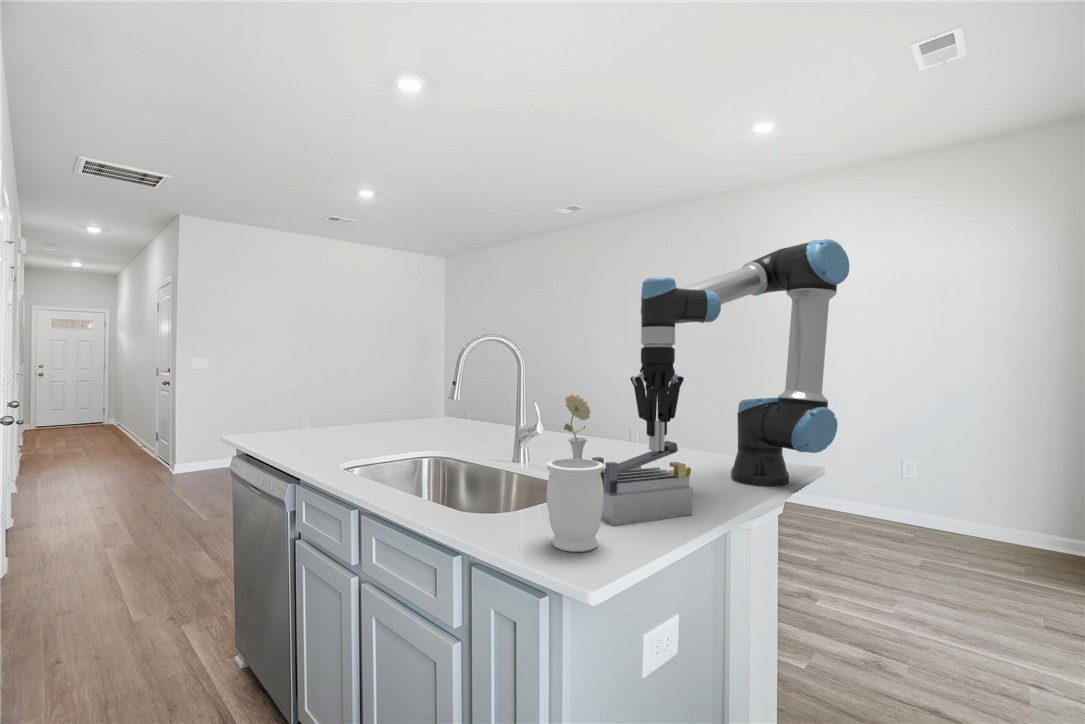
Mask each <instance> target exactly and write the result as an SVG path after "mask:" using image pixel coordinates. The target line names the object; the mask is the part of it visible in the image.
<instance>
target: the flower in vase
mask: <svg viewBox="0 0 1085 724" xmlns="http://www.w3.org/2000/svg"><path fill="white" fill-rule="evenodd" d="M564 399H565V407H566V408H568V411H569V412H570V414H571V415H572V416H571V420H570V424H569V423H567V422H566V423H565V425H564V427H563V429H564V430H565V431H569V432H570V433H572V434H573V436H574V437H569V438H567V441H568V442H569V444H570V446H571V450H572V451H571V452H572V459H583V452H584V451H583V450H584V447H585V444H586V443H587V441H588V438H586V437H577V436H576V434H577V433H578V432H580V431H582V430H583V429H585V428H586V425H584V426H583V427H582V428H580V429H577V431H574V427H573V420H574V417H575V418H578V419H579V420H581V421H585V420H588V419H590V418H591V416H590V415H591V410H590V406H589V405H588V402H587V401H585V400H584V398H582V397H581V398H580V395H579V394H577V395H575V394H574V393H572V394H570V395H568V396H566V397H565V398H564Z"/></svg>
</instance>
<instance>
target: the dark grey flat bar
mask: <svg viewBox="0 0 1085 724" xmlns="http://www.w3.org/2000/svg"><path fill="white" fill-rule="evenodd" d="M678 451H679V449H678V444H677V442H674V441H669V440H666V441H665V440H664V451H653V450H650V451H648V452H645V453H642V454H640V455H638V456H634V457H632V458H629V459H626V460H624V461H621V462H617V463H618V474H621V473H624V472H626V471H629V470H631V469H634V468H637V467H639V466H644V465H647V464H649V463H651V462H655V461H657V460H660V459H663V458H665V457H668V456H670V455H673V454H676V453H677V452H678ZM604 472H605V473H606V467H604Z"/></svg>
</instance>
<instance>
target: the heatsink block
mask: <svg viewBox="0 0 1085 724" xmlns="http://www.w3.org/2000/svg"><path fill="white" fill-rule="evenodd" d="M591 460H593V461H598V462H601V463H603V464H604V463H605V465H604V466H603V467H604V469H605V468H606V473H605V472H604V469H603V471H602V472H601V477H602V482H603V490H604V502H603V510H602V515H601V521H603V522H605V523H607V524H609V525H611V526H613V527H614V526H620V525H628V524H637V523H642V522H643V523H644V522H651V521H658V520H666V519H672V518H680V517H686V516H687V517H688V516H693V489H694V488H693V487H691V486H690V476H689V477H686V468H687V464H685V463H682V462H678V461H670V462H669V467H671V468H673V470H674V472H667V471H668V470H667V469H661V467H657V466H656V467H647V468H646V467H645V468H642V469H633V470H629V471H626V472H624V473H621V474H618V463H619V462H615V461H609V462H608V461H607V462H604V461H605V460H604V457H601V456H596V457H592V458H591Z"/></svg>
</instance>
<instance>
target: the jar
mask: <svg viewBox="0 0 1085 724" xmlns="http://www.w3.org/2000/svg"><path fill="white" fill-rule="evenodd" d="M603 466H604V467H603ZM546 469H547V471H549V475H548V479H547V485H546V504H547V505H546V506H547V510H548V511H547V512H548V518H549V524H550V528H551V530H552V532H553V534H554V536H553V538H552V540H551V543H552V546H553V547H555V548H556V549H558V550H561V551H565V552H571V553H582V552H583V553H584V552H589V551H592V550H594V549H596V548H597V547H598V545H599V544H598V543H599V542H598V540H597V538H596V535H597V533H598V532H599V530H600V526H601V521H602V519H601V515H602V510H603V502H604V490H603V482H602V477H601V472H602V471H603V469H605V465H604V464H603V463H601V462H598V461H593V460H592V459H587V458H582V459H573V458H560V459H559V458H558V459H554V460H550V461H548V462H547V463H546Z"/></svg>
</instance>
